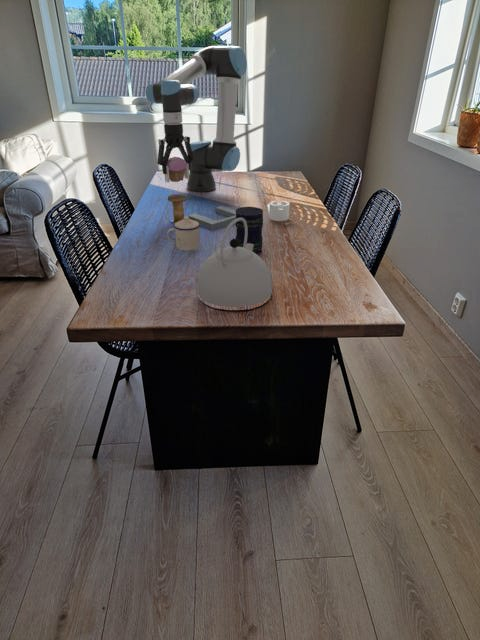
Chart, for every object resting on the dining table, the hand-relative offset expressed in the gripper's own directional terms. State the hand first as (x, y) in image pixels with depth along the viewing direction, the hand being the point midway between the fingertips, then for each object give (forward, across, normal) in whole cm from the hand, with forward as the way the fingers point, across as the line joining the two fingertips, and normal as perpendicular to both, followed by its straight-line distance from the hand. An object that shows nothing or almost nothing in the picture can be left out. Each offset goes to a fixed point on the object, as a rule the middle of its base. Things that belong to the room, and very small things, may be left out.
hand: (177, 179), depth 192 cm
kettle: (+15, -24, -76) cm, 81 cm away
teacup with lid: (+15, -18, -36) cm, 43 cm away
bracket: (+16, +36, -25) cm, 47 cm away
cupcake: (+1, 0, 0) cm, 1 cm away
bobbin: (+15, -6, -10) cm, 19 cm away
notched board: (+15, +9, -14) cm, 22 cm away
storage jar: (+15, -1, -52) cm, 55 cm away
